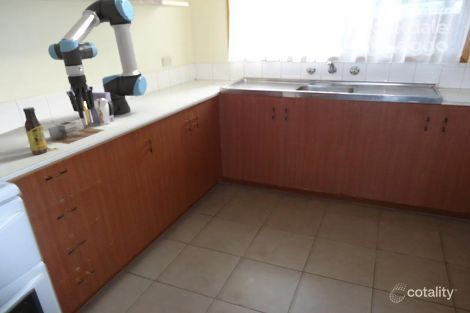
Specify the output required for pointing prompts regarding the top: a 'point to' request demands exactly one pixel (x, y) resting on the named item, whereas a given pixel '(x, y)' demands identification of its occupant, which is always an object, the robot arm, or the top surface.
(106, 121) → the beer glass
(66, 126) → the grey block
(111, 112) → the cake pan box
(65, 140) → the walnut board
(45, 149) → the sauce bottle
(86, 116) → the hinge pin
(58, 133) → the grey rectangular block
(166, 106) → the top surface
